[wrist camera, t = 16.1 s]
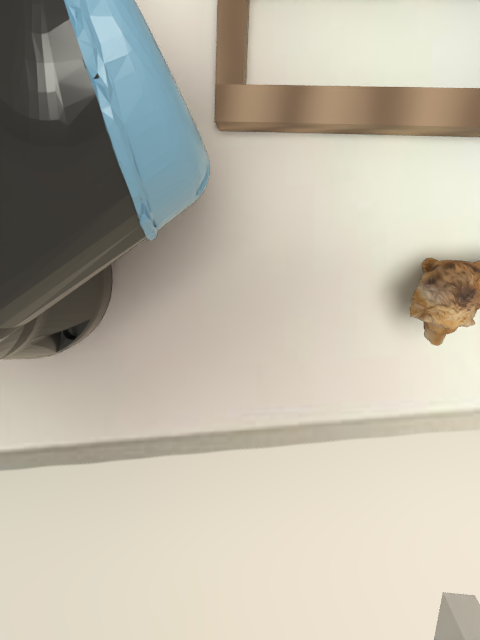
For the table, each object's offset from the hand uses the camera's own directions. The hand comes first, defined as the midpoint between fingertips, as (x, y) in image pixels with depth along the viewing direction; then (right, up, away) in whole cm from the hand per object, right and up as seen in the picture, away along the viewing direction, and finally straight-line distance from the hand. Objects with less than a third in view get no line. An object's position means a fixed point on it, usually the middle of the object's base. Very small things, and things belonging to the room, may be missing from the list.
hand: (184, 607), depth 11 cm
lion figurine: (+21, +11, +23) cm, 33 cm away
